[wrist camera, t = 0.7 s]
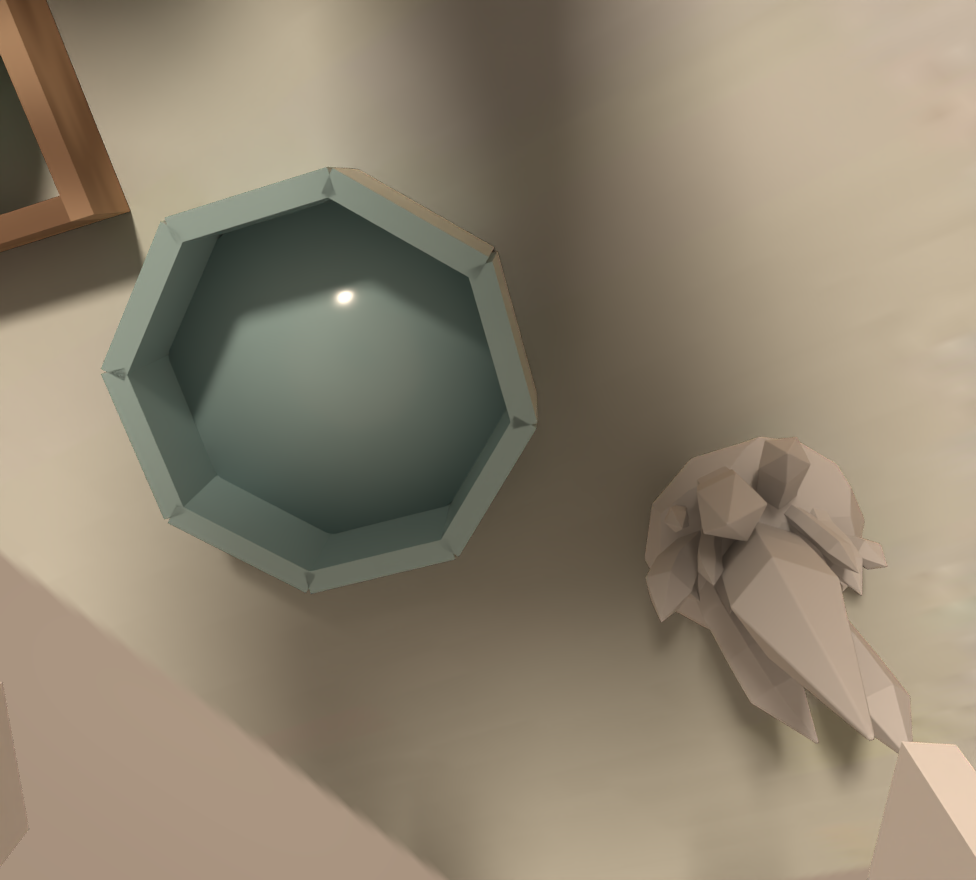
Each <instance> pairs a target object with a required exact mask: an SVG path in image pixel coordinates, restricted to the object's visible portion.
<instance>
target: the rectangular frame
mask: <svg viewBox="0 0 976 880" xmlns="http://www.w3.org/2000/svg"><path fill="white" fill-rule="evenodd" d="M0 55H1V57H2V59H3V62H4V64H5V67H6V69H7V71H8V74H9V76H10V78H11V81H12V83H13V85H14V88H15V90H16V93H17V95H18V97H19V100H20V102H21V104H22V107H23V109H24V112H25V114H26V116H27V119H28V121H29V123H30V126H31V128H32V130H33V133H34V135H35V138H36V140H37V142H38V145H39V147H40V149H41V152H42V154H43V157H44V159H45V161H46V164H47V166H48V168H49V171H50V173H51V175H52V178H53V180H54V183H55V185H56V187H57V190H58V192H59V194H60V196H58V197H55V198H52V199H48V200H45V201H42V202H39V203H36V204H33V205H30V206H27V207H24V208H21V209H17V210H14V211H11V212H8V213H5V214H2V215H0V252H3V251H6V250H9V249H12V248H15V247H18V246H22V245H25V244H28V243H31V242H34V241H37V240H41V239H44V238H47V237H50V236H53V235H57V234H60V233H63V232H66V231H69V230H72V229H76V228H79V227H82V226H85V225H88V224H91V223H95V222H98V221H101V220H104V219H107V218H110V217H114V216H117V215H120V214H123V213H126V212H129V211H130V209H129V207H128V204H127V202H126V199H125V197H124V194H123V192H122V189H121V187H120V184H119V182H118V179H117V177H116V174H115V172H114V169H113V167H112V164H111V162H110V159H109V157H108V154H107V152H106V149H105V147H104V144H103V142H102V139H101V137H100V134H99V132H98V129H97V127H96V124H95V122H94V119H93V117H92V114H91V112H90V109H89V107H88V104H87V102H86V99H85V97H84V94H83V92H82V89H81V87H80V84H79V82H78V79H77V77H76V74H75V72H74V69H73V67H72V64H71V62H70V59H69V57H68V54H67V52H66V49H65V47H64V44H63V42H62V39H61V37H60V34H59V32H58V29H57V27H56V24H55V22H54V19H53V17H52V14H51V12H50V9H49V7H48V4H47V2H46V0H0Z"/></svg>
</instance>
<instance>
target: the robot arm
mask: <svg viewBox="0 0 976 880" xmlns="http://www.w3.org/2000/svg"><path fill="white" fill-rule="evenodd" d="M28 830H29V825H28V820H27V814H26V808H25V803H24V797H23V793H22V786H21V781H20V775H19V770H18V764H17V759H16V753H15V748H14V742H13V737H12V731H11V726H10V720H9V715H8V709H7V704H6V698H5V693H4V687H3V682H0V867H1V866H2V864H3V863H4V862H5V860H6V859H7V858H8V856H9V855H10V854H11V852H12V851H13V850H14V848H15V847H16V846H17V844H18V843H19V842H20V840H21V839H22V838H23V836H24V835H25V834H26V833H27V831H28ZM867 880H976V771H975V770H974V769H973V767H972V766H971V764H970V763H969V762H968V760H967V759H966V758H965V756H964V755H963V753H962V752H961V751H960V749H959V748H958V747H957V745H951V744H936V743H921V742H905V741H902V742H901V746H900V750H899V754H898V758H897V762H896V766H895V770H894V774H893V778H892V782H891V786H890V790H889V794H888V798H887V802H886V806H885V810H884V814H883V818H882V822H881V826H880V830H879V834H878V838H877V842H876V846H875V850H874V854H873V858H872V862H871V866H870V870H869V874H868V878H867Z"/></svg>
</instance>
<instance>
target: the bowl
mask: <svg viewBox="0 0 976 880" xmlns="http://www.w3.org/2000/svg"><path fill="white" fill-rule="evenodd" d="M165 220H166V221H161V222H160V224H159V227H158V229H157V232H156V234H155V237H154V239H153V242H152V244H151V247H150V249H149V252H148V254H147V257H146V259H145V261H144V264H143V266H142V269H141V271H140V274H139V276H138V279H137V281H136V284H135V286H134V289H133V291H132V294H131V296H130V298H129V301H128V303H127V306H126V308H125V311H124V313H123V316H122V318H121V321H120V323H119V326H118V328H117V331H116V333H115V335H114V338H113V340H112V343H111V345H110V348H109V350H108V353H107V355H106V358H105V360H104V363H103V365H102V368H101V369H102V370H104V371H106V372H104V373H102V374H101V375H102V378H103V380H104V382H105V384H106V387H107V389H108V391H109V394H110V396H111V398H112V401H113V403H114V405H115V407H116V410H117V412H118V414H119V417H120V419H121V421H122V424H123V426H124V428H125V430H126V433H127V435H128V437H129V440H130V442H131V444H132V447H133V449H134V451H135V453H136V456H137V458H138V460H139V463H140V465H141V467H142V470H143V472H144V474H145V476H146V479H147V481H148V483H149V486H150V488H151V490H152V493H153V495H154V497H155V499H156V502H157V504H158V506H159V509H160V511H161V513H162V516H163V518H164V519H168V518H170V519H169V522H168V523H169V524H171V525H173V526H175V527H177V528H179V529H181V530H183V531H184V532H186V533H188V534H190V535H192V536H194V537H196V538H198V539H200V540H202V541H204V542H206V543H208V544H210V545H212V546H214V547H216V548H218V549H220V550H222V551H224V552H226V553H228V554H230V555H232V556H234V557H236V558H238V559H240V560H242V561H244V562H246V563H248V564H249V565H251V566H253V567H255V568H257V569H259V570H261V571H263V572H265V573H267V574H269V575H271V576H273V577H275V578H277V579H279V580H281V581H283V582H285V583H287V584H289V585H291V586H293V587H295V588H297V589H299V590H301V591H303V592H305V593H306V592H307V590H308V589H309V590H310V593H311V594H313V593H317V592H321V591H325V590H329V589H334V588H338V587H342V586H346V585H350V584H355V583H359V582H363V581H367V580H371V579H376V578H380V577H384V576H388V575H392V574H396V573H401V572H405V571H409V570H413V569H417V568H422V567H426V566H430V565H434V564H438V563H443V562H447V561H451V560H455V557H456V555H457V556H460V554H461V552H462V551H463V549H464V547H465V546H466V544H467V543H468V541H469V539H470V538H471V536H472V534H473V533H474V531H475V529H476V528H477V526H478V524H479V523H480V521H481V519H482V518H483V516H484V514H485V513H486V511H487V509H488V508H489V506H490V505H491V503H492V501H493V500H494V498H495V496H496V495H497V493H498V491H499V490H500V488H501V486H502V485H503V483H504V481H505V480H506V478H507V476H508V475H509V473H510V471H511V470H512V468H513V467H514V465H515V463H516V462H517V460H518V458H519V457H520V455H521V453H522V452H523V450H524V448H525V447H526V445H527V443H528V442H529V440H530V438H531V437H532V435H533V433H534V432H535V430H536V429H537V423H538V421H537V392H536V389H535V385H534V381H533V378H532V374H531V371H530V367H529V363H528V360H527V356H526V352H525V349H524V345H523V342H522V338H521V334H520V331H519V327H518V323H517V320H516V316H515V313H514V309H513V305H512V302H511V298H510V295H509V291H508V287H507V284H506V280H505V276H504V273H503V269H502V266H501V262H500V258H499V255H498V251H496V252H493V253H491V252H492V251H493V249H494V247H493V246H491V245H490V244H488V243H486V242H485V241H483V240H481V239H479V238H478V237H476V236H474V235H472V234H471V233H469V232H467V231H465V230H464V229H462V228H460V227H458V226H457V225H455V224H453V223H451V222H450V221H448V220H446V219H444V218H443V217H441V216H439V215H437V214H436V213H434V212H432V211H430V210H429V209H427V208H425V207H423V206H422V205H420V204H418V203H417V202H415V201H413V200H411V199H410V198H408V197H406V196H404V195H403V194H401V193H399V192H397V191H396V190H394V189H392V188H390V187H389V186H387V185H385V184H383V183H382V182H380V181H378V180H376V179H375V178H373V177H371V176H369V175H368V174H366V173H364V172H362V171H361V170H359V169H353V168H336V167H325V168H322V169H319V170H316V171H313V172H309V173H306V174H303V175H300V176H296V177H293V178H290V179H287V180H284V181H280V182H277V183H274V184H271V185H268V186H264V187H261V188H258V189H255V190H252V191H248V192H245V193H242V194H239V195H236V196H232V197H229V198H226V199H223V200H220V201H216V202H213V203H210V204H207V205H204V206H200V207H197V208H194V209H191V210H188V211H184V212H181V213H178V214H175V215H172V216H168V217H165Z"/></svg>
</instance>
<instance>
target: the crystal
mask: <svg viewBox="0 0 976 880" xmlns="http://www.w3.org/2000/svg"><path fill="white" fill-rule="evenodd" d="M864 523H865V521H864V517H863V514H862V512H861V510H860V507H859V505H858V503H857V500H856V498H855V495H854V493H853V491H852V488H851V486H850V484H849V483H848V481H847V480H846V478H845V476H844V475H843V473H842V471H841V470H840V468H839V467H838V465H837V464H836V463H834V462H833V461H831V460H829V459H828V458H826V457H824V456H823V455H821V454H819V453H818V452H816V451H814V450H812V449H811V448H809V447H807V446H806V445H804V444H802V443H800V442H799V440H798V438H797V437H790V438H779V439H774V438H768V437H762V436H759V437H756V438H754V439H751V440H748V441H745V442H742V443H739V444H735V445H732V446H729V447H726V448H722V449H719V450H716V451H712V452H709V453H706V454H703V455H699V456H696V457H693V458H692V459H690V460H689V461H688V462H687V464H686V465H685V466H684V467H683V468H682V469H681V471H680V472H679V473H678V474H677V475H676V476H675V478H674V479H673V480H672V481H671V482H670V483H669V485H668V486H667V487H666V488H665V489H664V490H663V492H662V493H661V494H660V495H659V496H658V498H657V499H656V500H655V501H654V502H653V503H652V506H651V514H650V521H649V528H648V536H647V543H646V550H645V561H646V563H647V565H648V566H649V568H650V570H649V572H648V574H647V576H646V578H645V579H646V583H647V587H648V591H649V595H650V599H651V601H652V604H653V606H654V608H655V611H656V613H657V615H658V617H659V620H660V621H661V622H663V621H664V620H666V619H667V618H668V617H669V616H671V615H672V614H673V613H674V612H678V613H680V614H681V615H683V616H685V617H687V618H689V619H690V620H692V621H694V622H696V623H698V624H699V625H701V626H703V627H705V628H707V629H710V631H711V633H712V635H713V636H714V638H715V640H716V642H717V644H718V646H719V648H720V650H721V652H722V653H723V655H724V657H725V659H726V661H727V663H728V665H729V666H730V668H731V670H732V671H733V673H734V675H735V677H736V678H737V680H738V682H739V684H740V685H741V687H742V689H743V690H744V692H745V694H746V696H747V697H748V699H749V701H750V702H751V703H752V704H753V705H755V706H756V707H758V708H760V709H761V710H763V711H765V712H766V713H768V714H769V715H771V716H773V717H774V718H776V719H778V720H779V721H781V722H783V723H784V724H786V725H787V726H789V727H791V728H792V729H794V730H796V731H797V732H799V733H800V734H802V735H804V736H805V737H807V738H809V739H810V740H812V741H813V742H815V743H818V742H819V741H818V738H817V734H816V730H815V727H814V723H813V719H812V716H811V712H810V708H809V705H808V701H807V697H806V693H805V690H804V688H806V689H807V690H808V691H809V692H810V693H812V694H813V695H814V696H815V697H816V698H818V699H819V700H820V701H821V702H823V703H824V704H825V705H826V706H827V707H829V708H830V709H831V710H832V711H833V712H835V713H836V714H837V715H838V716H840V717H841V718H842V719H843V720H844V721H846V722H847V723H848V724H849V725H850V726H852V727H853V728H854V729H855V730H857V731H858V732H859V733H860V734H861V735H863V736H864V737H865V738H866V739H868V740H869V741H871V740H874V737H875V738H877V739H878V740H880V741H881V742H883V743H884V744H885V745H887V746H888V747H890V748H891V749H892V750H894V751H895V752H897V753H898V754H899V750H900V746H901V742H902V741H905V742H913V739H912V720H911V701H910V695H909V694H908V692H907V691H906V690H905V689H904V687H903V686H902V685H901V683H900V682H899V681H898V680H897V678H896V677H895V676H894V674H893V673H892V672H891V671H890V669H889V668H888V667H887V666H886V664H885V663H884V662H883V660H882V659H881V658H880V657H879V655H878V654H877V653H876V652H875V651H874V650H873V648H872V647H871V646H870V645H869V644H868V642H867V641H866V640H865V639H864V638H863V636H862V635H861V634H860V633H859V632H858V630H857V629H856V628H855V627H854V626H853V624H852V623H851V622H850V621H849V620H848V616H847V611H846V607H845V603H844V598H843V594H842V592H843V591H844V590H845V589H846V588H847V587H848V586H849V587H850V588H851V589H853V590H854V591H856V592H857V593H858V594H860V595H862V567H864V568H866V569H875V568H882V567H887V563H886V559H885V556H884V553H883V550H882V546H881V544H880V543H876V542H873V541H870V540H867V539H863V538H862V533H863V528H864Z"/></svg>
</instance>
